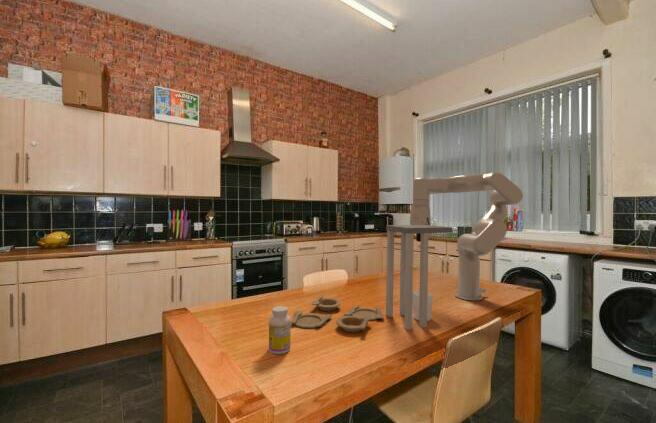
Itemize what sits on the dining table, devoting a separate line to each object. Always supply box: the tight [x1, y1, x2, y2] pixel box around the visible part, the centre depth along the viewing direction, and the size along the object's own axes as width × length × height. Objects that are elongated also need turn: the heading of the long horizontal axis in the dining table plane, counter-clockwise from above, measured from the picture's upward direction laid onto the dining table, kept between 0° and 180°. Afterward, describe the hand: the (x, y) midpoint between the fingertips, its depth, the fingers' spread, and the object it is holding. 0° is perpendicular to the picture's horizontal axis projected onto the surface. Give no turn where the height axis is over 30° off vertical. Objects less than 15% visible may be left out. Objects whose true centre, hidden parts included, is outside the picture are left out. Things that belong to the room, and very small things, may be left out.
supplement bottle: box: [268, 305, 292, 355], centre depth 91 cm, size 7×7×13 cm
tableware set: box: [291, 294, 385, 333], centre depth 118 cm, size 35×29×4 cm
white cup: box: [412, 290, 434, 322], centre depth 119 cm, size 8×8×10 cm
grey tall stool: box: [385, 224, 453, 331], centre depth 117 cm, size 20×15×37 cm
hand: (420, 241), depth 144 cm, fingers closed
